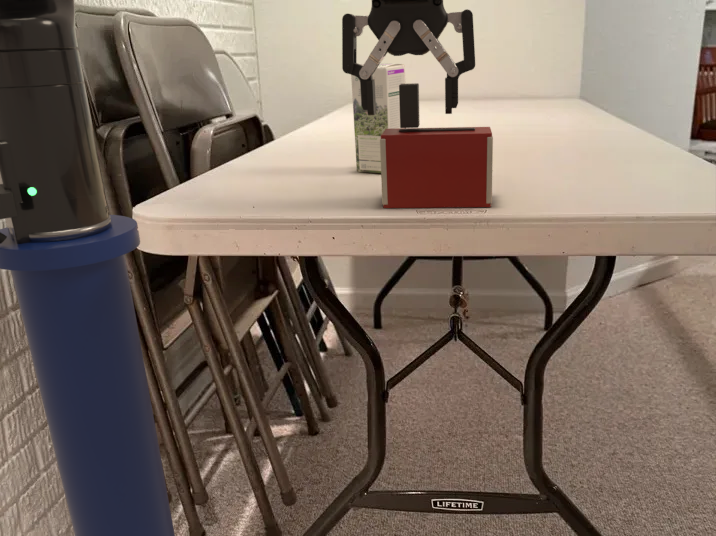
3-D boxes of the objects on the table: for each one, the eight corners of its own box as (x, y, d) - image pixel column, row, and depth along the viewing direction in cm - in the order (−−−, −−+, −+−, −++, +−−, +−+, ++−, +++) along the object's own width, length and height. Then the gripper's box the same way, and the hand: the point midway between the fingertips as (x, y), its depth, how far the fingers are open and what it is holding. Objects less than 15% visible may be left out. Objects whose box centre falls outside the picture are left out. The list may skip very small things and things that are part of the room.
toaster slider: (400, 128, 79) (399, 85, 77) (401, 125, 81) (400, 83, 80) (418, 127, 79) (417, 84, 77) (419, 125, 81) (418, 83, 79)
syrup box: (409, 168, 105) (406, 62, 100) (389, 175, 100) (385, 64, 95) (375, 166, 108) (371, 63, 102) (354, 172, 103) (349, 65, 97)
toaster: (382, 208, 81) (379, 133, 78) (387, 197, 86) (385, 126, 83) (491, 207, 80) (493, 131, 77) (489, 195, 85) (490, 124, 82)
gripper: (331, -52, 71) (341, 119, 77) (476, -58, 69) (475, 116, 75) (342, -44, 78) (351, 112, 84) (475, -49, 76) (474, 109, 82)
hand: (410, 114), depth 80 cm, fingers open, 8 cm apart
